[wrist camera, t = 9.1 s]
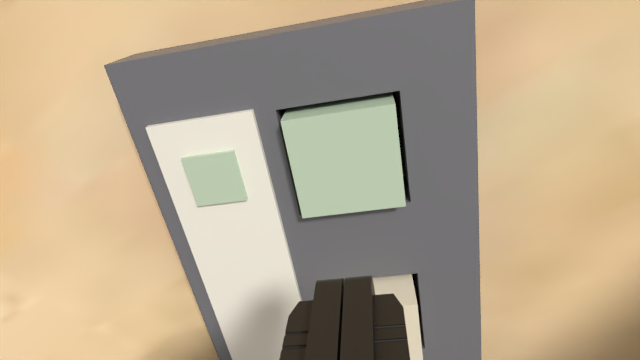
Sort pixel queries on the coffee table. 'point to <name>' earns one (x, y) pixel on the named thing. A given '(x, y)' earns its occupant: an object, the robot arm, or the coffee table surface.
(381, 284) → the button sand
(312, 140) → the button sage
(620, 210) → the coffee table surface
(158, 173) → the button board
